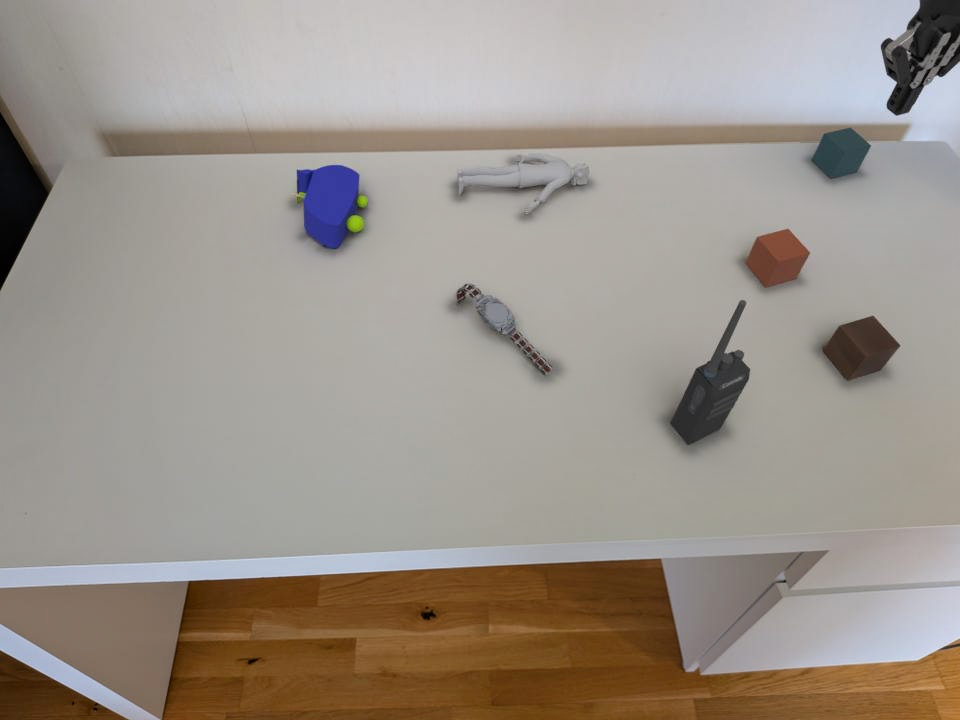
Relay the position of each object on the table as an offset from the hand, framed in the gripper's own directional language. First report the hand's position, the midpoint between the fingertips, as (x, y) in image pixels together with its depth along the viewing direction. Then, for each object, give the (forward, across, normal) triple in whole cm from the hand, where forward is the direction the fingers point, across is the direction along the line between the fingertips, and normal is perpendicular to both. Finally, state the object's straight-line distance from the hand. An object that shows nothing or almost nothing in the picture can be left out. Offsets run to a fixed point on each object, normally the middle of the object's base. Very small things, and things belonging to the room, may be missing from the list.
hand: (896, 110), depth 81 cm
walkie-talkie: (+14, -38, -24) cm, 47 cm away
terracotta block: (+14, -17, -7) cm, 23 cm away
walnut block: (+14, -17, -22) cm, 31 cm away
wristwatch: (+14, -52, -6) cm, 55 cm away
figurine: (+14, -40, +18) cm, 46 cm away
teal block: (+14, +4, +8) cm, 17 cm away
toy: (+13, -66, +20) cm, 70 cm away
